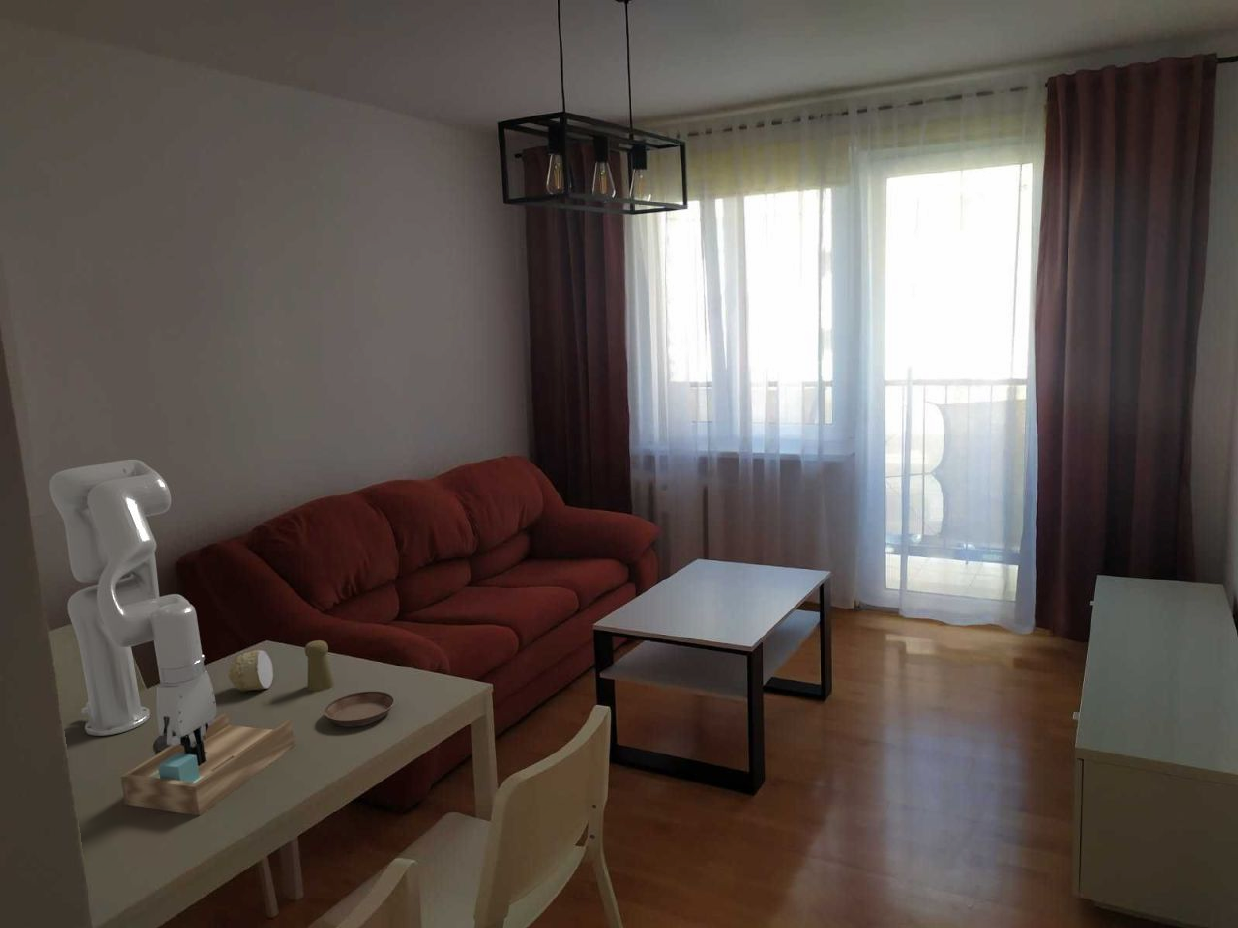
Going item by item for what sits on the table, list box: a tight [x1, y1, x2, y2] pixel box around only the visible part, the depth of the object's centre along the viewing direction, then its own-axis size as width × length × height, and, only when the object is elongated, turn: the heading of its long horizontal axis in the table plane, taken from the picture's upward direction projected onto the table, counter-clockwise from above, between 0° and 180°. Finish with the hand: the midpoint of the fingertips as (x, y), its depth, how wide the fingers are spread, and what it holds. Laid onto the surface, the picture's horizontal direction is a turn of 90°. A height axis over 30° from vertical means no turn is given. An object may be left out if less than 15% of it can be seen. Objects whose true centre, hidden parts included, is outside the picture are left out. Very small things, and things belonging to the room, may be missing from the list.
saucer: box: [323, 690, 395, 728], centre depth 195 cm, size 15×15×3 cm
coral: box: [227, 649, 274, 692], centre depth 212 cm, size 10×10×10 cm
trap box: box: [120, 713, 296, 816], centre depth 173 cm, size 17×26×6 cm, turn 162°
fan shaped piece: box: [155, 734, 170, 754], centre depth 190 cm, size 8×14×2 cm, turn 26°
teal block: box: [158, 753, 200, 783], centre depth 164 cm, size 4×4×4 cm
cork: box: [304, 639, 335, 693], centre depth 211 cm, size 6×6×11 cm
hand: (196, 762), depth 168 cm, fingers closed
